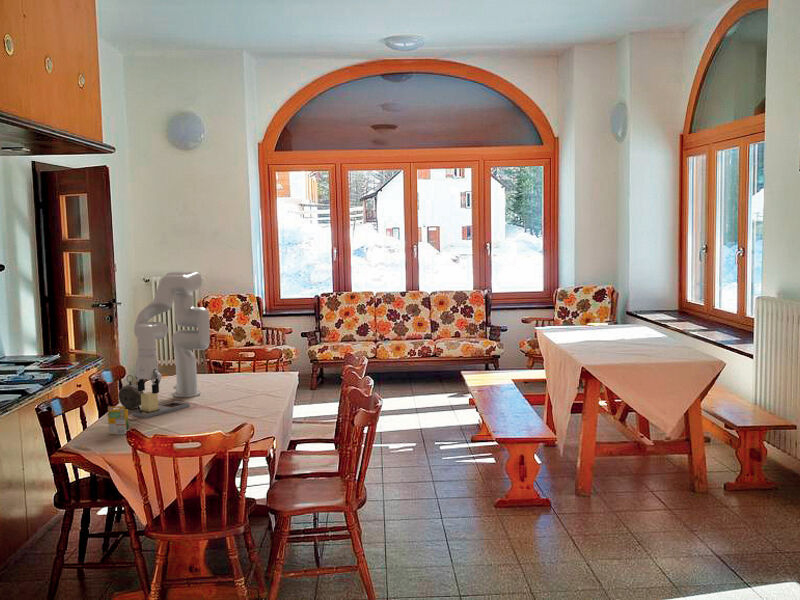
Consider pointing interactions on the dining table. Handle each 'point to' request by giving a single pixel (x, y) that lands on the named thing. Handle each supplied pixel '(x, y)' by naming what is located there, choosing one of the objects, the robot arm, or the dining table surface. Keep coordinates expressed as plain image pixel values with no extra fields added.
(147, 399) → the brushed gold block
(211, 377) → the dining table surface
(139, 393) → the alarm clock
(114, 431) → the crayon box
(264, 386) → the dining table surface
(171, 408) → the divided tray
